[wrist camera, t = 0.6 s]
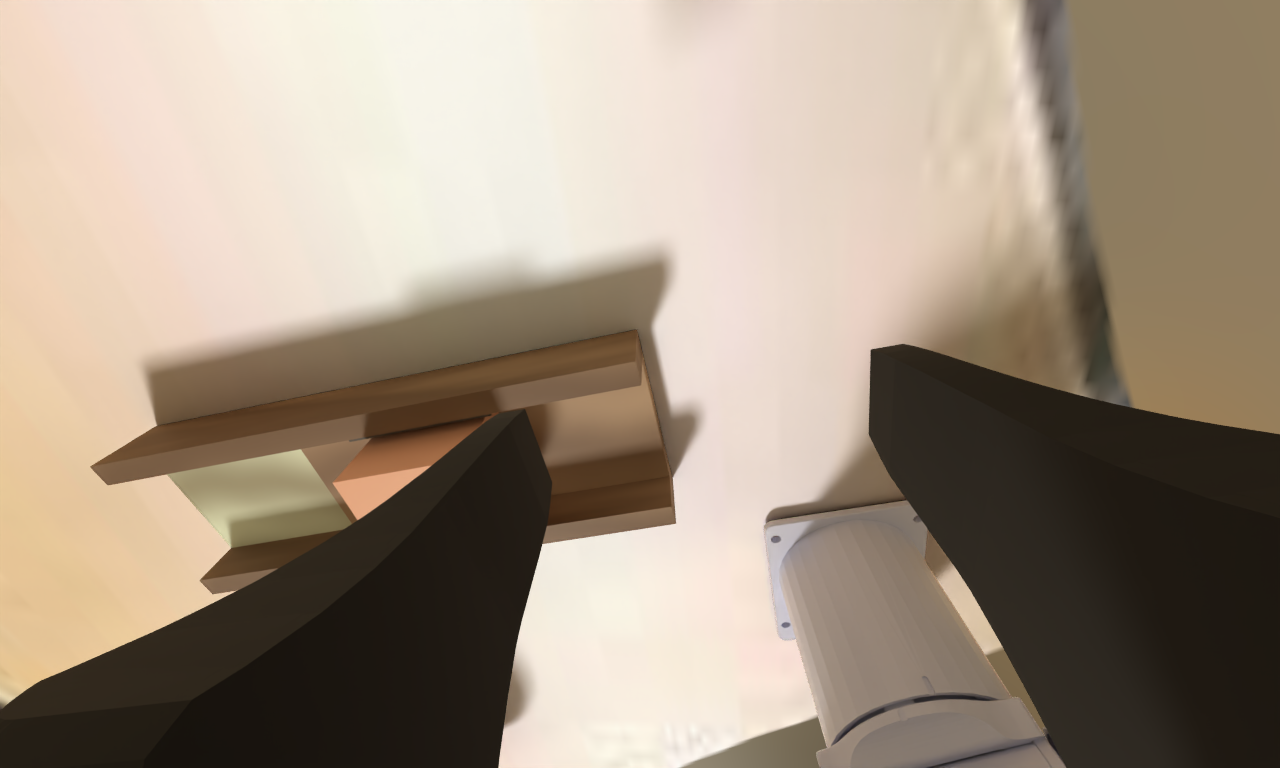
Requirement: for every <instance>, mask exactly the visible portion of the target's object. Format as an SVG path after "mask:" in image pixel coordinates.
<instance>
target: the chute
mask: <svg viewBox="0 0 1280 768" xmlns="http://www.w3.org/2000/svg"><path fill="white" fill-rule="evenodd" d="M522 409H525V410H526V413H527V415H528V418H529V421H530V423H531V426H532V429H533V432H534V434H535V437H536V440H537V442H538V445H539V448H540V450H541V453H542V456H543V459H544V461H545V464H546V467H547V469H548V472H549V475H550V477H551V480H552V491H551V501H550V509H549V517H548V524H547V528H546V532H545V536H544V540H543V543H542V544H545V543H552V542H559V541H565V540H572V539H578V538H585V537H591V536H598V535H604V534H611V533H618V532H624V531H631V530H637V529H644V528H650V527H657V526H664V525H670V524H676V518H675V504H674V490H673V478H672V474H671V470H670V465H669V461H668V457H667V453H666V449H665V445H664V440H663V436H662V432H661V428H660V424H659V420H658V415H657V411H656V407H655V403H654V399H653V395H652V390H651V386H650V382H649V378H648V374H647V369H646V365H645V361H644V357H643V353H642V349H641V344H640V340H639V336H638V332H637V330H632V331H627V332H622V333H617V334H612V335H607V336H602V337H597V338H592V339H587V340H582V341H577V342H572V343H567V344H563V345H558V346H553V347H548V348H543V349H538V350H533V351H528V352H523V353H518V354H513V355H508V356H503V357H498V358H493V359H488V360H483V361H478V362H473V363H468V364H463V365H458V366H453V367H448V368H443V369H438V370H433V371H428V372H423V373H418V374H413V375H408V376H403V377H399V378H394V379H389V380H384V381H379V382H374V383H369V384H364V385H359V386H354V387H349V388H344V389H339V390H334V391H329V392H324V393H319V394H314V395H309V396H304V397H299V398H294V399H289V400H284V401H279V402H274V403H269V404H264V405H259V406H254V407H249V408H244V409H239V410H234V411H230V412H225V413H220V414H215V415H210V416H205V417H200V418H195V419H190V420H185V421H180V422H175V423H170V424H165V425H160V426H156V427H154V428H152V429H151V430H149V431H147V432H146V433H144V434H143V435H141V436H139V437H138V438H136V439H134V440H133V441H131V442H130V443H128V444H126V445H125V446H123V447H121V448H120V449H118V450H117V451H115V452H113V453H112V454H110V455H108V456H107V457H105V458H104V459H102V460H100V461H99V462H97V463H95V464H94V465H92V466H91V468H92V470H93V471H94V472H95V473H96V474H97V475H98V476H99V477H100V478H101V479H102V480H103V481H104V482H105V483H106V484H107V485H112V484H118V483H123V482H128V481H134V480H139V479H144V478H150V477H155V476H160V475H166V474H167V475H168V476H169V477H170V478H171V480H172V481H173V482H174V483H175V484H176V485H177V486H178V488H179V489H180V490H181V491H182V492H183V493H184V494H185V496H186V497H187V498H188V499H189V500H190V501H191V502H192V504H193V505H194V506H195V507H196V508H197V509H198V510H199V512H200V513H201V514H202V515H203V516H204V517H205V518H206V520H207V521H208V522H209V523H210V524H211V525H212V526H213V528H214V529H215V530H216V531H217V532H218V533H219V534H220V536H221V537H222V538H223V539H224V540H225V541H226V542H227V543H228V545H229V546H230V547H231V549H230V550H229V551H228V552H227V553H226V554H225V555H224V556H223V557H222V558H221V559H220V560H219V561H218V562H217V563H216V564H215V565H214V566H213V567H212V568H211V569H210V570H209V571H208V572H207V573H206V574H205V575H204V577H203V578H202V579H201V580H200V581H201V583H202V584H203V585H204V586H205V587H206V588H207V589H208V590H209V591H210V592H211V593H212V594H217V593H224V592H230V591H237V590H240V589H242V588H244V587H245V586H247V585H249V584H251V583H253V582H255V581H257V580H259V579H261V578H262V577H264V576H266V575H268V574H269V573H271V572H273V571H275V570H276V569H278V568H280V567H282V566H283V565H285V564H287V563H288V562H290V561H292V560H294V559H295V558H297V557H299V556H301V555H302V554H304V553H306V552H308V551H309V550H311V549H313V548H315V547H316V546H318V545H320V544H321V543H323V542H325V541H326V540H328V539H330V538H331V537H333V536H334V535H336V534H337V533H339V532H340V531H342V530H343V529H345V528H347V527H348V526H350V525H351V524H353V523H354V522H356V521H357V519H356V517H355V516H354V514H353V513H352V511H351V510H350V508H349V507H348V505H347V504H346V502H345V501H344V499H343V498H342V496H341V495H340V493H339V492H338V490H337V489H336V487H335V486H334V485H333V482H334V481H335V479H336V478H337V477H338V476H339V475H340V474H341V473H342V471H343V470H344V469H345V468H346V467H347V466H348V465H349V463H350V462H351V461H352V460H353V459H354V458H355V457H356V455H357V454H358V453H359V452H360V451H361V450H362V449H363V447H364V446H365V445H366V444H367V443H368V442H369V441H370V439H371V438H375V437H380V436H385V435H391V434H396V433H401V432H407V431H412V430H417V429H423V428H428V427H433V426H439V425H444V424H450V423H455V422H460V421H466V420H471V419H476V418H482V417H487V416H491V414H492V413H497V412H499V413H504V412H510V411H516V410H522Z"/></svg>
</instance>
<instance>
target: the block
mask: <svg viewBox="0 0 1280 768" xmlns="http://www.w3.org/2000/svg"><path fill="white" fill-rule="evenodd" d="M498 413H499V412H497V413H492V414H491V416H487V417H482V418H476V419H471V420H466V421H460V422H455V423H450V424H444V425H439V426H433V427H428V428H423V429H417V430H412V431H407V432H401V433H396V434H391V435H385V436H380V437H375V438H371V439H370V441H369V442H368V443H367V444H366V445H365V446H364V447H363V449H362V450H361V451H360V452H359V453H358V454H357V455H356V457H355V458H354V459H353V460H352V461H351V462H350V463H349V465H348V466H347V467H346V468H345V469H344V470H343V471H342V473H341V474H340V475H339V476H338V477H337V478H336V479H335V481H334V482H333V485H334V486H335V487H336V489H337V490H338V492H339V493H340V495H341V496H342V498H343V499H344V501H345V502H346V504H347V505H348V507H349V508H350V510H351V511H352V513H353V514H354V516H355V517H356V519H357V520H359V519H360V518H362V517H363V516H365V515H366V514H368V513H369V512H371V511H372V510H373V509H375V508H376V507H378V506H379V505H381V504H382V503H383V502H385V501H386V500H387V499H389V498H390V497H391V496H393V495H394V494H395V493H397V492H398V491H399V490H401V489H402V488H403V487H404V486H406V485H407V484H408V483H410V482H411V481H412V480H414V479H415V478H416V477H418V476H419V475H420V474H421V473H423V472H424V471H425V470H427V469H428V468H429V467H430V466H432V465H433V464H434V463H435V462H437V461H438V460H439V459H440V458H441V457H443V456H444V455H445V454H446V453H448V452H449V451H450V450H451V449H452V448H454V447H455V446H456V445H457V444H459V443H460V442H461V441H462V440H463V439H465V438H466V437H467V436H468V435H470V434H471V433H472V432H473V431H475V430H476V429H477V428H478V427H480V426H481V425H482V424H484V423H485V422H486V421H488V420H489V419H490V418H492V417H494V416H495V415H497V414H498Z"/></svg>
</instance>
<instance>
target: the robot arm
mask: <svg viewBox="0 0 1280 768" xmlns="http://www.w3.org/2000/svg"><path fill="white" fill-rule="evenodd" d="M869 436H870V438H871V440H872V442H873V444H874V446H875V448H876V450H877V452H878V454H879V456H880V458H881V460H882V462H883V464H884V465H885V467H886V469H887V471H888V473H889V475H890V476H891V478H892V479H893V481H894V482H895V483H896V485H897V486H898V488H899V489H900V491H901V492H902V493H903V495H904V496H905V498H906V499H907V500H905V501H899V502H892V503H885V504H879V505H872V506H865V507H858V508H852V509H845V510H838V511H832V512H825V513H818V514H812V515H805V516H798V517H792V518H785V519H778V520H772V521H769V522H767V523H766V524H765V526H764V535H765V542H766V550H767V557H768V565H769V573H770V580H771V588H772V595H773V603H774V610H775V618H776V625H777V632H778V636H779V638H780V639H782V640H794V639H796V642H797V645H798V648H799V652H800V655H801V659H802V662H803V666H804V669H805V673H806V676H807V680H808V683H809V687H810V690H811V693H812V697H813V700H814V704H815V707H816V711H817V714H818V718H819V721H820V724H821V728H822V732H823V735H824V738H825V742H826V745H827V748H826V749H823V750H820V751H817V753H816V756H817V759H818V763H819V767H820V768H1280V434H1274V433H1267V432H1261V431H1255V430H1248V429H1242V428H1235V427H1229V426H1223V425H1217V424H1211V423H1205V422H1200V421H1195V420H1189V419H1183V418H1178V417H1173V416H1168V415H1163V414H1159V413H1154V412H1149V411H1145V410H1140V409H1135V408H1130V407H1126V406H1121V405H1116V404H1112V403H1108V402H1104V401H1099V400H1095V399H1091V398H1087V397H1083V396H1079V395H1076V394H1072V393H1068V392H1065V391H1061V390H1057V389H1054V388H1050V387H1046V386H1043V385H1039V384H1036V383H1032V382H1029V381H1025V380H1022V379H1019V378H1015V377H1012V376H1009V375H1006V374H1002V373H999V372H996V371H993V370H990V369H986V368H983V367H980V366H977V365H974V364H971V363H968V362H965V361H962V360H958V359H955V358H952V357H949V356H946V355H943V354H940V353H936V352H933V351H930V350H926V349H923V348H919V347H915V346H910V345H905V344H900V345H895V346H889V347H883V348H877V349H871V364H870V405H869ZM551 491H552V480H551V477H550V475H549V472H548V469H547V467H546V464H545V461H544V459H543V456H542V453H541V450H540V448H539V445H538V442H537V440H536V437H535V434H534V432H533V429H532V426H531V423H530V421H529V418H528V415H527V413H526V410H525V409H522V410H516V411H510V412H504V413H498V414H497V415H495V416H494V417H492V418H490V419H489V420H488V421H486V422H485V423H484V424H482V425H481V426H480V427H478V428H477V429H476V430H475V431H473V432H472V433H471V434H470V435H468V436H467V437H466V438H465V439H463V440H462V441H461V442H460V443H459V444H457V445H456V446H455V447H454V448H452V449H451V450H450V451H449V452H448V453H446V454H445V455H444V456H443V457H441V458H440V459H439V460H438V461H437V462H435V463H434V464H433V465H432V466H430V467H429V468H428V469H427V470H425V471H424V472H423V473H421V474H420V475H419V476H418V477H416V478H415V479H414V480H412V481H411V482H410V483H408V484H407V485H406V486H404V487H403V488H402V489H401V490H399V491H398V492H397V493H395V494H394V495H393V496H391V497H390V498H389V499H387V500H386V501H385V502H383V503H382V504H381V505H379V506H378V507H376V508H375V509H373V510H372V511H371V512H369V513H368V514H366V515H365V516H363V517H362V518H360V519H359V520H357V521H356V522H354V523H353V524H351V525H350V526H348V527H347V528H345V529H343V530H342V531H340V532H339V533H337V534H336V535H334V536H333V537H331V538H330V539H328V540H326V541H325V542H323V543H321V544H320V545H318V546H316V547H315V548H313V549H311V550H309V551H308V552H306V553H304V554H302V555H301V556H299V557H297V558H295V559H294V560H292V561H290V562H288V563H287V564H285V565H283V566H282V567H280V568H278V569H276V570H275V571H273V572H271V573H269V574H268V575H266V576H264V577H262V578H261V579H259V580H257V581H255V582H253V583H251V584H249V585H247V586H245V587H244V588H242V589H240V590H238V591H236V592H234V593H232V594H230V595H228V596H226V597H224V598H222V599H220V600H218V601H216V602H214V603H212V604H210V605H208V606H206V607H204V608H202V609H200V610H198V611H196V612H194V613H192V614H190V615H188V616H186V617H184V618H182V619H180V620H178V621H176V622H173V623H171V624H169V625H167V626H165V627H163V628H161V629H158V630H156V631H154V632H152V633H150V634H148V635H145V636H143V637H141V638H138V639H136V640H134V641H132V642H129V643H127V644H125V645H122V646H120V647H118V648H116V649H113V650H111V651H109V652H107V653H104V654H102V655H100V656H97V657H95V658H93V659H91V660H88V661H86V662H84V663H81V664H79V665H77V666H75V667H72V668H70V669H68V670H65V671H63V672H61V673H58V674H56V675H53V676H51V677H49V678H46V679H44V680H41V681H39V682H38V683H36V684H35V685H33V686H32V687H30V688H29V689H27V690H26V691H24V692H23V693H22V694H20V695H19V696H18V697H16V698H15V699H13V700H12V701H11V702H10V703H8V704H7V705H6V706H5V707H4V708H3V709H2V710H1V711H0V768H498V765H499V756H500V749H501V742H502V735H503V727H504V720H505V713H506V706H507V699H508V692H509V686H510V680H511V674H512V668H513V661H514V655H515V649H516V643H517V639H518V635H519V630H520V626H521V621H522V618H523V614H524V610H525V606H526V603H527V599H528V595H529V592H530V588H531V584H532V581H533V577H534V573H535V570H536V566H537V562H538V559H539V555H540V551H541V547H542V543H543V540H544V536H545V532H546V528H547V524H548V517H549V509H550V501H551ZM917 515H918V516H917ZM915 516H916V517H915ZM927 530H929V531H930V533H931V534H932V536H933V537H934V538H935V540H936V541H937V542H938V544H939V545H940V547H941V548H942V549H943V551H944V552H945V554H946V555H947V556H948V558H949V559H950V561H951V562H952V563H953V565H954V566H955V568H956V569H957V571H958V572H959V574H960V575H961V577H962V578H963V580H964V581H965V583H966V584H967V586H968V587H969V589H970V590H971V592H972V594H973V596H974V597H975V599H976V601H977V603H978V604H979V606H980V608H981V610H982V611H983V613H984V615H985V617H986V618H987V620H988V622H989V624H990V625H991V627H992V629H993V631H994V632H995V634H996V636H997V638H998V639H999V641H1000V643H1001V645H1002V646H1003V648H1004V650H1005V652H1006V654H1007V655H1008V657H1009V659H1010V661H1011V663H1012V665H1013V667H1014V668H1015V670H1016V672H1017V674H1018V676H1019V678H1020V679H1021V681H1022V683H1023V685H1024V687H1025V689H1026V691H1027V693H1028V694H1029V696H1030V698H1031V700H1032V702H1033V704H1034V705H1035V707H1036V709H1037V711H1038V713H1039V715H1040V717H1041V719H1042V721H1043V723H1044V725H1045V728H1043V732H1044V734H1045V736H1044V734H1043V733H1042V731H1041V730H1040V728H1039V726H1038V725H1037V723H1036V722H1035V720H1034V719H1033V717H1032V716H1031V714H1030V713H1029V711H1028V709H1027V708H1026V706H1025V705H1024V703H1023V702H1022V701H1021V699H1020V698H1018V697H1013V698H1012V697H1011V695H1010V693H1009V692H1008V690H1007V689H1006V687H1005V686H1004V684H1003V682H1002V681H1001V679H1000V678H999V677H998V675H997V673H996V671H995V670H994V668H993V667H992V666H991V664H990V662H989V660H988V659H987V657H986V656H985V654H984V653H983V651H982V649H981V648H980V646H979V645H978V643H977V642H976V640H975V638H974V637H973V635H972V634H971V632H970V631H969V629H968V627H967V626H966V624H965V623H964V621H963V620H962V618H961V616H960V615H959V613H958V612H957V610H956V609H955V607H954V605H953V604H952V602H951V601H950V599H949V598H948V596H947V595H946V593H945V591H944V590H943V588H942V587H941V585H940V584H939V582H938V580H937V579H936V577H935V576H934V574H933V573H932V571H931V569H930V568H929V566H928V565H927V563H926V562H925V552H926V541H927ZM773 536H777V537H773ZM1045 737H1046V738H1045Z"/></svg>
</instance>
